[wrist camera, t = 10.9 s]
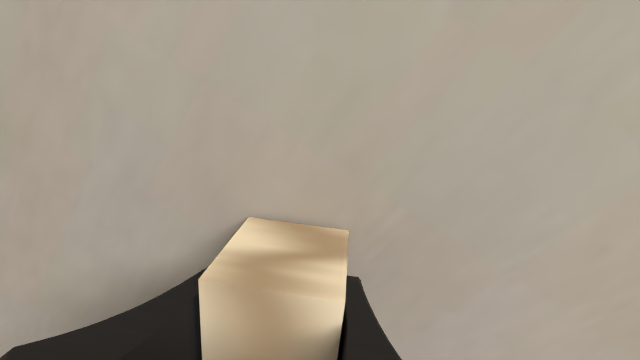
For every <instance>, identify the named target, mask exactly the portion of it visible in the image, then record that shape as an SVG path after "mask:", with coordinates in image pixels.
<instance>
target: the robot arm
mask: <svg viewBox="0 0 640 360" xmlns="http://www.w3.org/2000/svg"><path fill="white" fill-rule="evenodd" d="M208 267H209V266H208ZM208 267H207V268H208ZM207 268H205V269H204V270H202V271H201V272H199V273H197V274H196V275H194V276H193V277H191V278H189V279H188V280H186V281H185V282H183V283H181V284H179V285H178V286H176V287H174V288H172V289H170V290H169V291H167V292H165V293H163V294H162V295H160V296H158V297H156V298H154V299H152V300H150V301H148V302H146V303H144V304H142V305H140V306H137V307H135V308H133V309H131V310H128V311H126V312H124V313H121V314H119V315H116V316H114V317H111V318H109V319H106V320H104V321H101V322H98V323H95V324H93V325H90V326H87V327H84V328H81V329H78V330H75V331H71V332H68V333H65V334H62V335H58V336H55V337H51V338H47V339H44V340H40V341H36V342H32V343H28V344H25V345H21V346H16V347H14V348H12V349H11V350H10V351H8V352H7V353H6V354H5V355H3V356H2V357H1V358H0V360H202V346H201V325H200V304H199V283H198V279H199V278H200V277H201V275H202V274H203V273H204V272H205V271H206V269H207ZM337 360H402V359H401V358H400V356H399V355H398V354H397V352H396V351H395V349H394V348H393V346H392V345H391V343H390V342H389V340H388V338H387V337H386V335H385V333H384V332H383V330H382V328H381V326H380V325H379V323H378V321H377V319H376V317H375V315H374V313H373V311H372V309H371V307H370V304H369V302H368V300H367V297H366V295H365V292H364V290H363V287H362V284H361V280H360V279H359V277H353V276H347V278H346V298H345V308H344V315H343V322H342V328H341V335H340V342H339V349H338V356H337Z"/></svg>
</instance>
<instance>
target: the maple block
mask: <svg viewBox="0 0 640 360" xmlns="http://www.w3.org/2000/svg"><path fill="white" fill-rule="evenodd" d="M348 237H349V231H348V230H341V229H334V228H326V227H319V226H312V225H304V224H297V223H289V222H282V221H275V220H267V219H260V218H253V217H248V219H247V220H246V221H245V222H244V224H243V225H242V226H241V227H240V228H239V230H238V231H237V232H236V233H235V235H234V236H233V237H232V238H231V240H230V241H229V242H228V243H227V245H226V246H225V247H224V248H223V249H222V251H221V252H220V253H219V254H218V256H217V257H216V258H215V259H214V261H213V262H212V263H211V264H210V266H209V267H208V268H207V269H206V271H205V272H204V273H203V274H202V275H201V277H200V278H199V279H198V283H199V304H200V325H201V346H202V360H337V356H338V349H339V342H340V335H341V328H342V322H343V315H344V308H345V298H346V278H347V258H348Z"/></svg>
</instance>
